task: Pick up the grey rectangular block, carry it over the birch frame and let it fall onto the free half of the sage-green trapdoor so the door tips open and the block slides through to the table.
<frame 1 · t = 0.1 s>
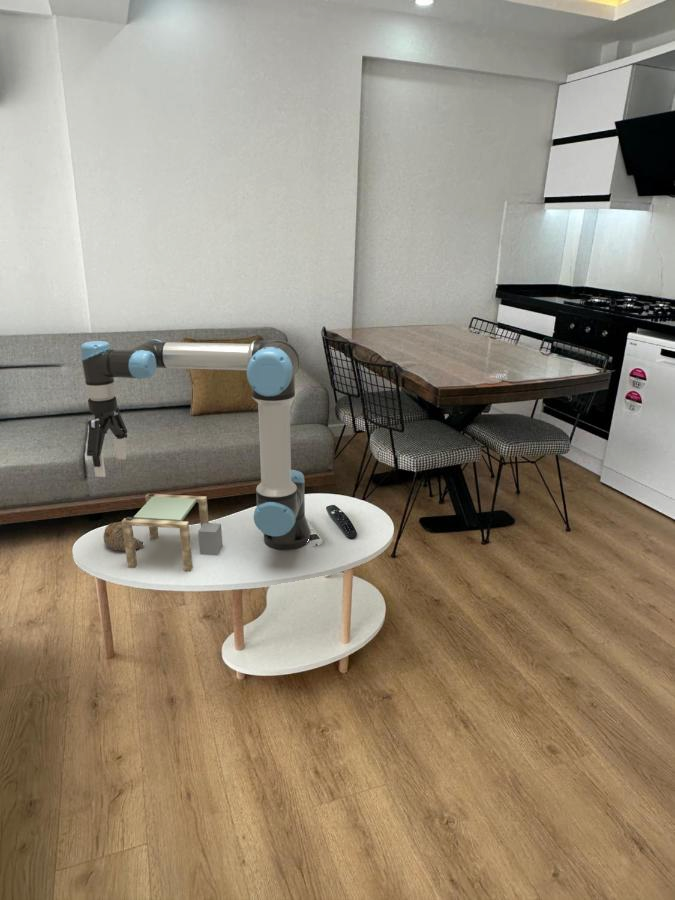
hand: (111, 467, 177), 28 cm above the table, fingers open, 13 cm apart
frame: (170, 552, 186), on the table
grey rectangular block: (210, 539, 186), point 4 cm above the table
seashell: (124, 544, 191), on the table
trapdoor: (166, 513, 181), point 14 cm above the table, hinge at -0.4°
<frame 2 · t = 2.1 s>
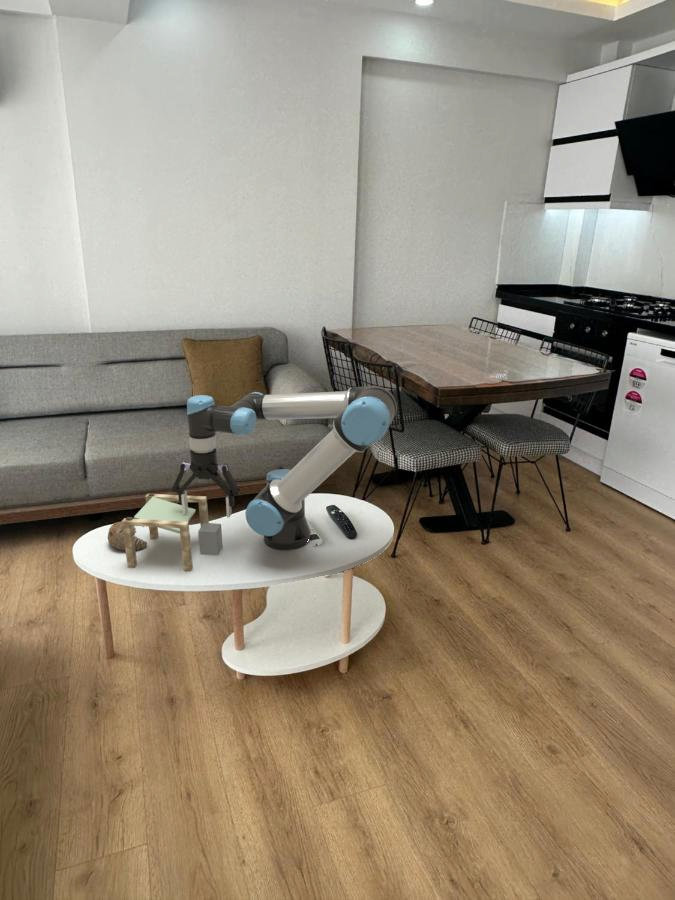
hand: (207, 514, 183), 12 cm above the table, fingers open, 13 cm apart
seashell: (128, 544, 191), on the table
trapdoor: (165, 518, 182), point 12 cm above the table, hinge at -15.6°, touching gripper
everything else where it was.
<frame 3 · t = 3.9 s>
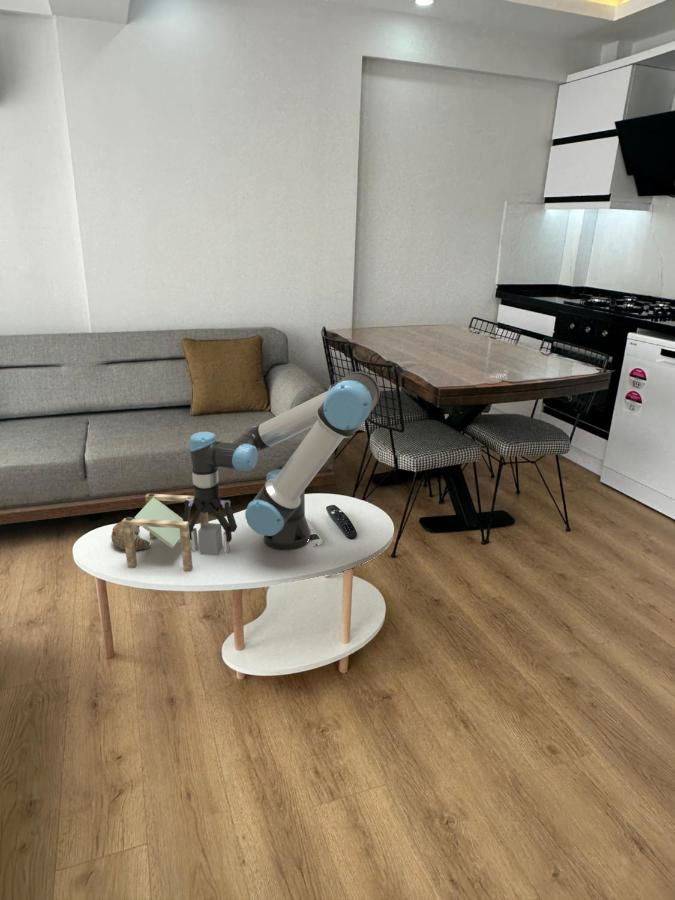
hand: (211, 549, 187), 0 cm above the table, fingers open, 9 cm apart
seashell: (131, 543, 192), on the table
trapdoor: (160, 524, 183), point 10 cm above the table, hinge at -39.0°, touching gripper
everything else where it was.
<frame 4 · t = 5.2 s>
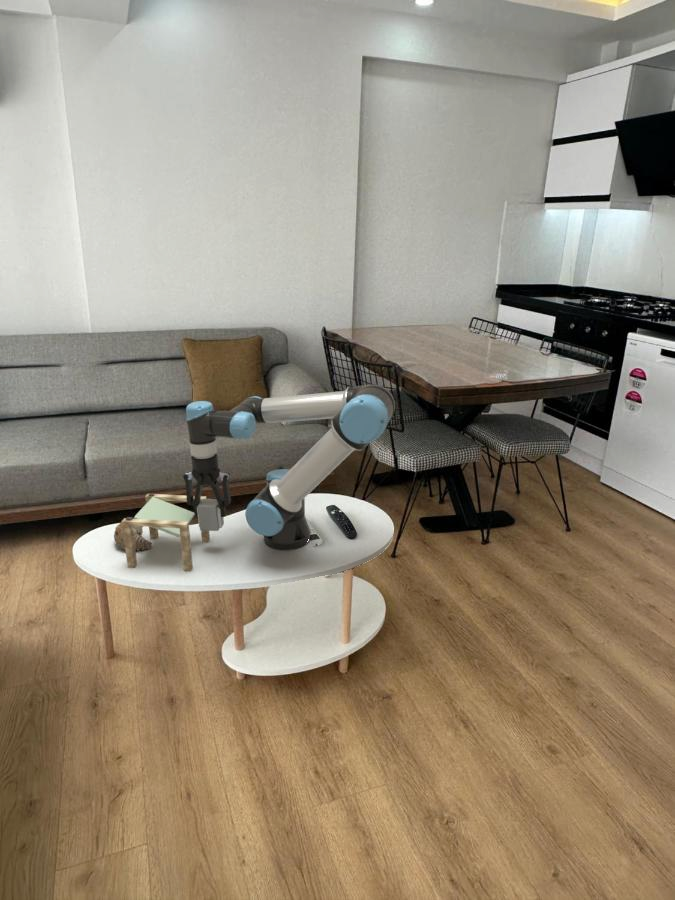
hand: (211, 525, 184), 9 cm above the table, fingers closed on grey rectangular block, 5 cm apart
grey rectangular block: (210, 514, 183), point 12 cm above the table, touching gripper
trapdoor: (164, 519, 182), point 11 cm above the table, hinge at -20.6°
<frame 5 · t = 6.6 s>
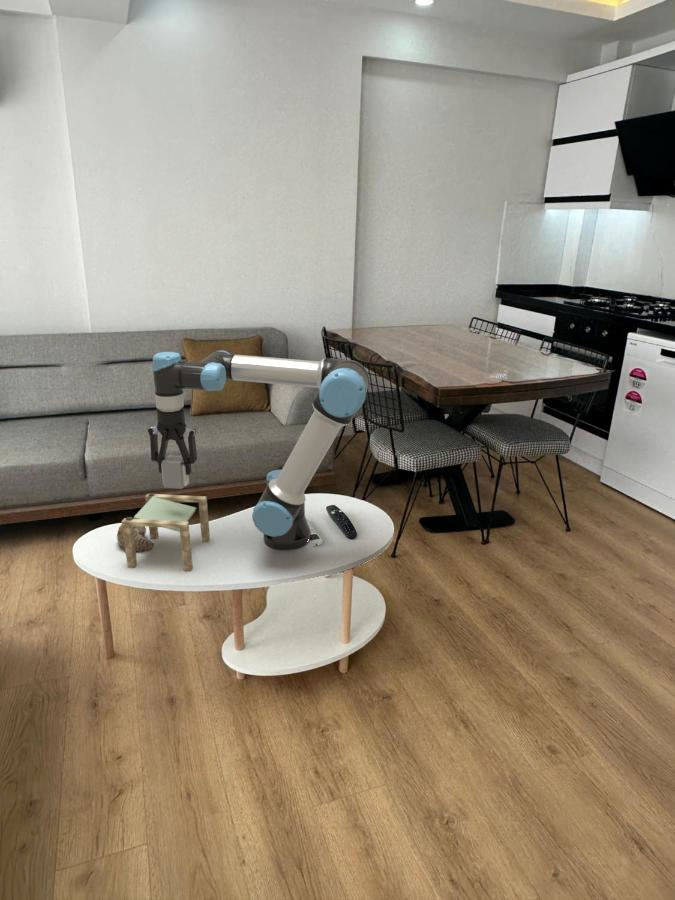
hand: (176, 483, 178), 23 cm above the table, fingers closed on grey rectangular block, 5 cm apart
grey rectangular block: (175, 471, 176), point 27 cm above the table, touching gripper
trapdoor: (165, 517, 181), point 12 cm above the table, hinge at -12.7°
when the fingers open (18 cm above the table, at t = 7.9 s): grey rectangular block drops 10 cm and tips over, resting on trapdoor.
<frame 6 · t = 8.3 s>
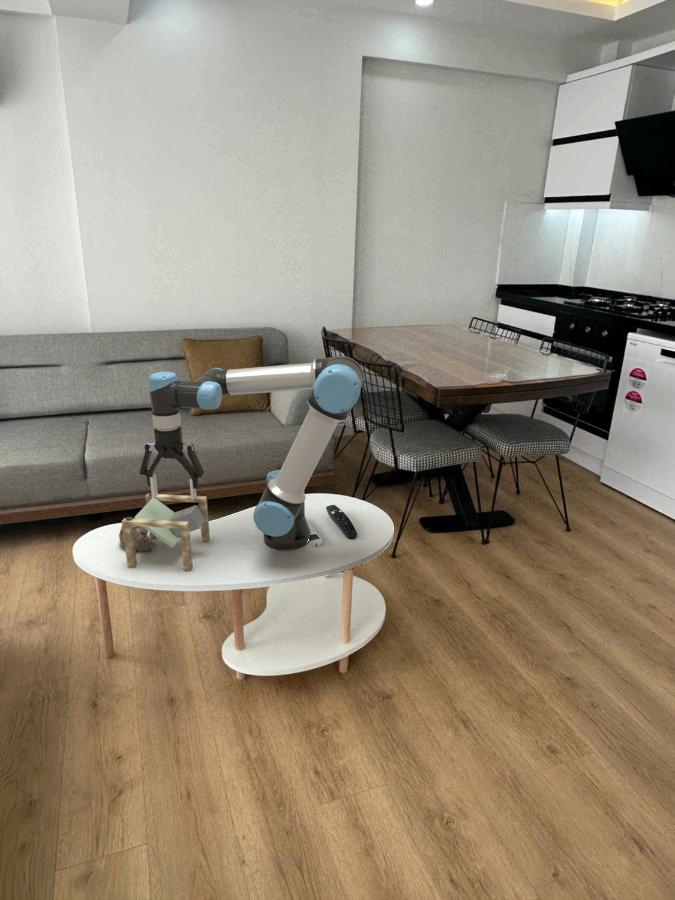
hand: (174, 497, 179), 19 cm above the table, fingers open, 11 cm apart
grey rectangular block: (186, 520, 181), point 11 cm above the table, tilted 67°, touching trapdoor
trapdoor: (160, 524, 183), point 10 cm above the table, hinge at -38.8°, touching grey rectangular block
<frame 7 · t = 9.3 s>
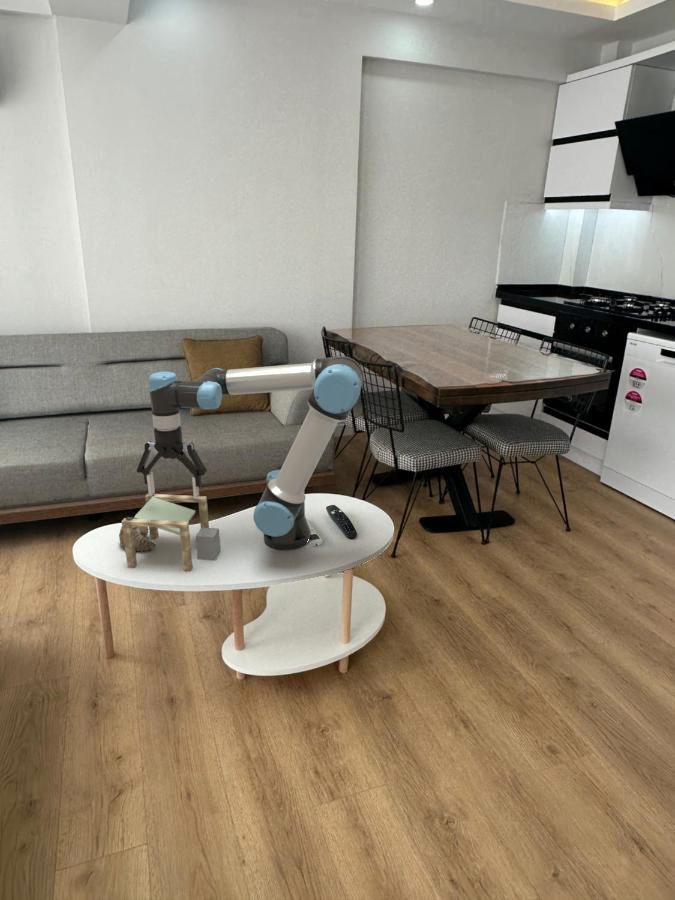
hand: (174, 495, 178), 20 cm above the table, fingers open, 13 cm apart
grey rectangular block: (208, 543, 183), point 4 cm above the table, tilted 180°
trapdoor: (164, 518, 182), point 12 cm above the table, hinge at -17.3°
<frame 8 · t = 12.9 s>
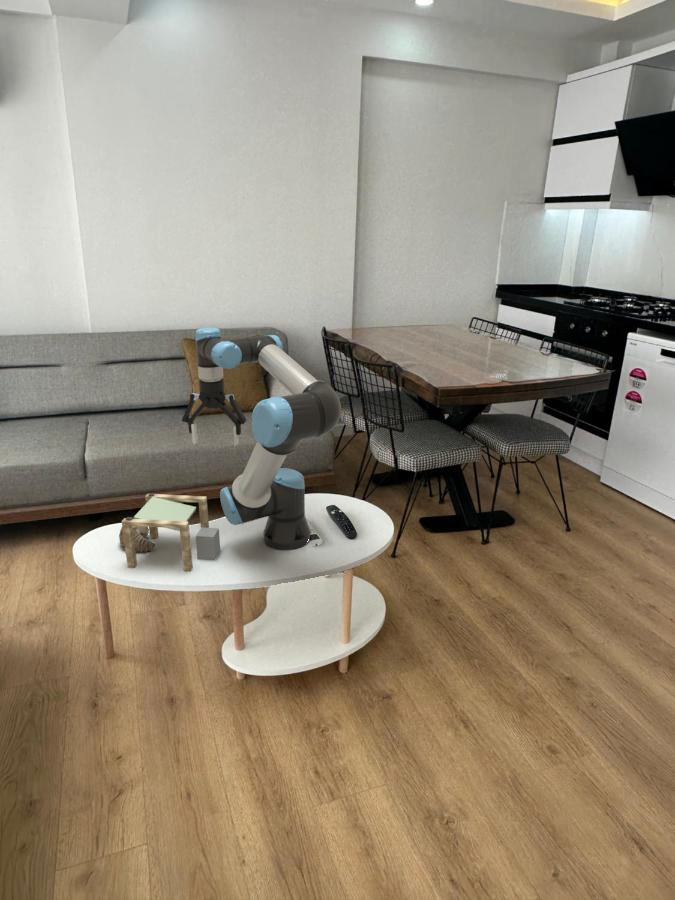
hand: (215, 443, 194), 29 cm above the table, fingers open, 13 cm apart
trapdoor: (165, 517, 181), point 12 cm above the table, hinge at -12.0°
at the end: grey rectangular block point 3.9 cm above the table; grey rectangular block inside the target area (1.3 cm from its centre), point 3.9 cm above the table; the gripper is holding nothing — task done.
